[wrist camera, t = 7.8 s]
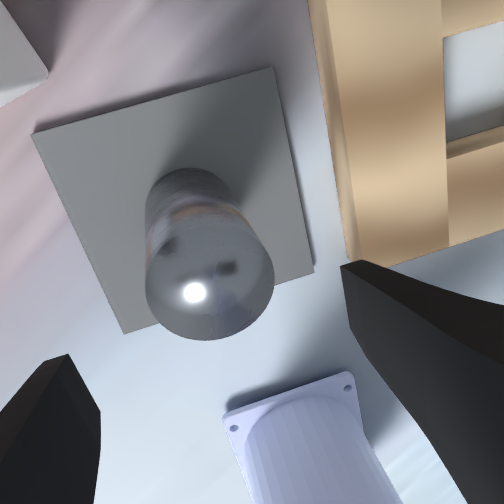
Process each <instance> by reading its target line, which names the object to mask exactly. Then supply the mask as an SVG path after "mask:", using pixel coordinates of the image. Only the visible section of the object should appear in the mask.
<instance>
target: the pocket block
mask: <svg viewBox="0 0 504 504" xmlns="http://www.w3.org/2000/svg"><path fill="white" fill-rule="evenodd" d="M307 1H308V7H309V13H310V20H311V26H312V33H313V39H314V45H315V52H316V58H317V65H318V71H319V77H320V84H321V90H322V96H323V103H324V109H325V116H326V122H327V128H328V135H329V141H330V148H331V154H332V160H333V167H334V173H335V180H336V186H337V192H338V199H339V205H340V212H341V218H342V224H343V231H344V237H345V244H346V250H347V256H348V258H349V259H350V261H351V262H354V261H357V260H361V259H363V260H366V261H369V262H372V263H374V264H377V265H380V266H382V267H385V268H387V267H390V266H393V265H396V264H399V263H402V262H405V261H408V260H411V259H415V258H418V257H421V256H424V255H427V254H430V253H433V252H436V251H439V250H442V249H445V248H448V247H451V246H454V245H457V244H460V243H463V242H466V241H469V240H472V239H475V238H478V237H481V236H484V235H488V234H491V233H494V232H497V231H500V230H503V229H504V125H503V126H500V127H496V128H493V129H490V130H487V131H483V132H480V133H477V134H473V135H470V136H467V137H464V138H460V139H457V140H454V141H451V142H447V143H446V134H445V104H444V74H443V44H442V38H444V37H447V36H451V35H454V34H458V33H461V32H465V31H468V30H472V29H476V28H479V27H483V26H486V25H490V24H493V23H497V22H500V21H504V0H307Z"/></svg>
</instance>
